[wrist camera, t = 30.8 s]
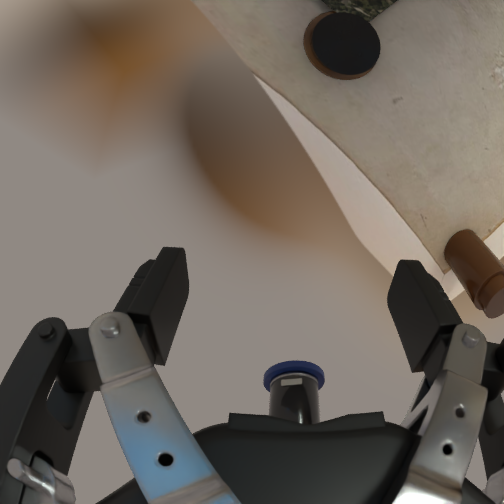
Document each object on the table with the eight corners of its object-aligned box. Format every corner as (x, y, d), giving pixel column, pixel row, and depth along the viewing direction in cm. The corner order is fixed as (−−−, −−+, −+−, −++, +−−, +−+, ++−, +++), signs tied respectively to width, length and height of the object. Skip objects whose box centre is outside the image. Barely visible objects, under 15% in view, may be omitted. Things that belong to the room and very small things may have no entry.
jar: (469, 266, 37) (505, 320, 27) (438, 265, 38) (473, 323, 27) (482, 230, 34) (526, 281, 23) (451, 227, 34) (496, 281, 24)
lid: (321, 5, 21) (324, 1, 19) (381, 31, 22) (389, 29, 20) (301, 59, 25) (302, 59, 23) (361, 83, 26) (367, 85, 24)
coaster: (374, 85, 26) (376, 85, 26) (301, 74, 26) (302, 74, 26) (378, 20, 22) (380, 19, 21) (304, 7, 22) (305, 6, 22)
